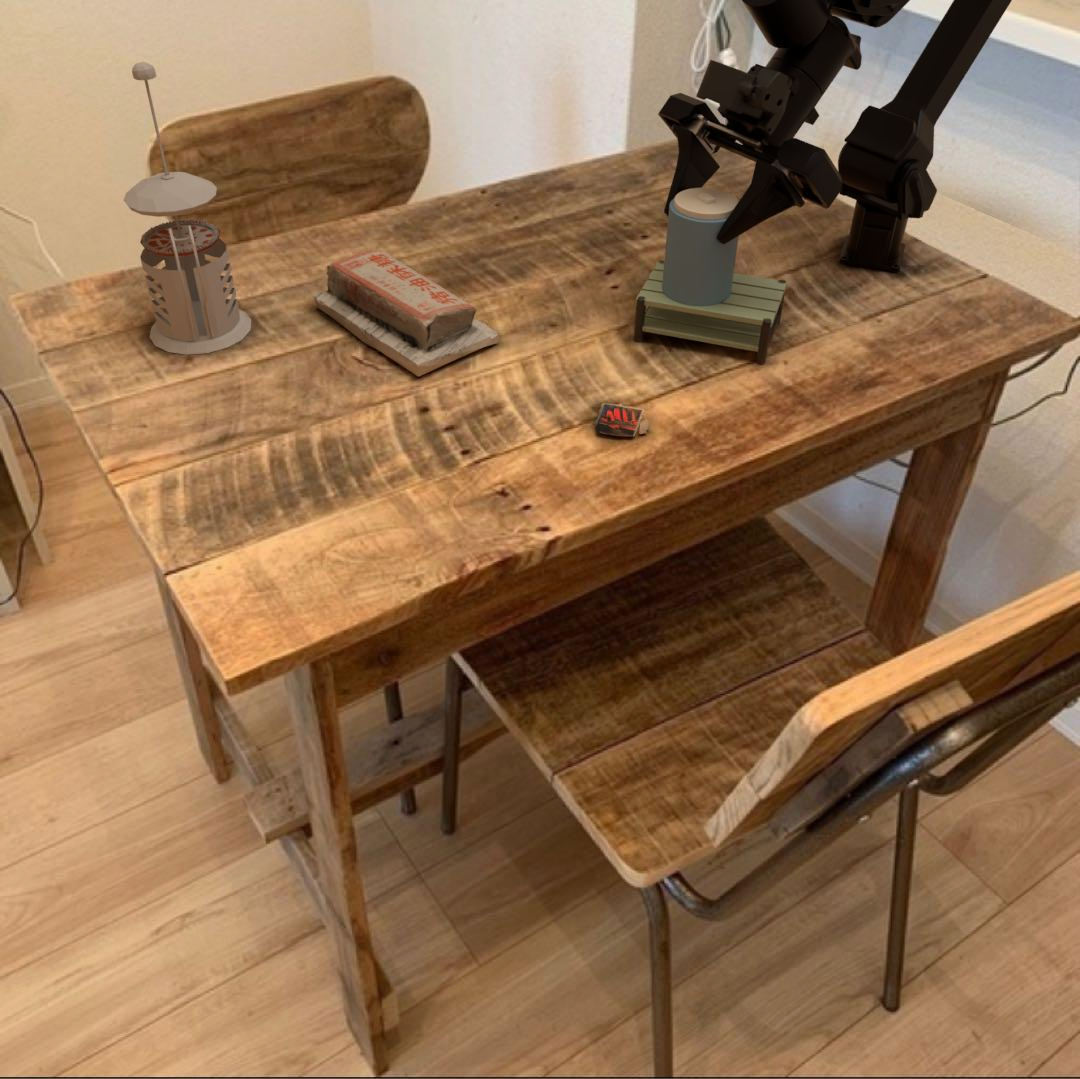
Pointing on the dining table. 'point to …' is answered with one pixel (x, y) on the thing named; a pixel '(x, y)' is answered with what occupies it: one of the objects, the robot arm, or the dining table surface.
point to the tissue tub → (699, 248)
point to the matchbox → (620, 420)
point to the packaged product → (401, 312)
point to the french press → (185, 260)
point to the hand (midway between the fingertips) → (692, 228)
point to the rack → (715, 314)
